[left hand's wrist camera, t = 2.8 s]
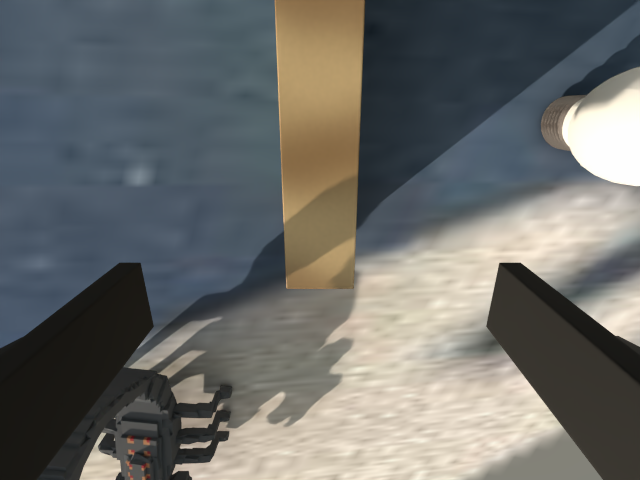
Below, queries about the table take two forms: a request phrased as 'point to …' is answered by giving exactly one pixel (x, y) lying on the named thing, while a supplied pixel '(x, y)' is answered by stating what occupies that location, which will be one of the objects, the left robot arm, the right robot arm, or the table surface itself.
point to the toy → (141, 430)
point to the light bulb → (600, 128)
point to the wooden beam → (319, 137)
